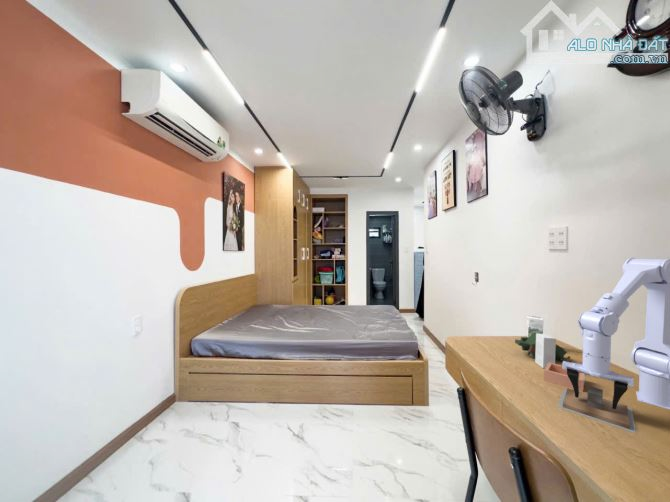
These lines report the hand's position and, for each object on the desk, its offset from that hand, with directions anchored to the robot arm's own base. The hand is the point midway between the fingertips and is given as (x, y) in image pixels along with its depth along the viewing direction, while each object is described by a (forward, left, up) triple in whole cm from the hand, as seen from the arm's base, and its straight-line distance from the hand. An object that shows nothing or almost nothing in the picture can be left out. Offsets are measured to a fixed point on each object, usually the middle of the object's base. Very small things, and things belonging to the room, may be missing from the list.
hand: (594, 401), depth 77 cm
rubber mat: (0, 0, -2) cm, 2 cm away
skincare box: (+15, -27, -2) cm, 31 cm away
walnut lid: (0, 0, -2) cm, 2 cm away
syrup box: (+22, -50, -2) cm, 55 cm away
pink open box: (+8, -15, -2) cm, 17 cm away
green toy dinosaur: (+17, -36, -3) cm, 40 cm away
